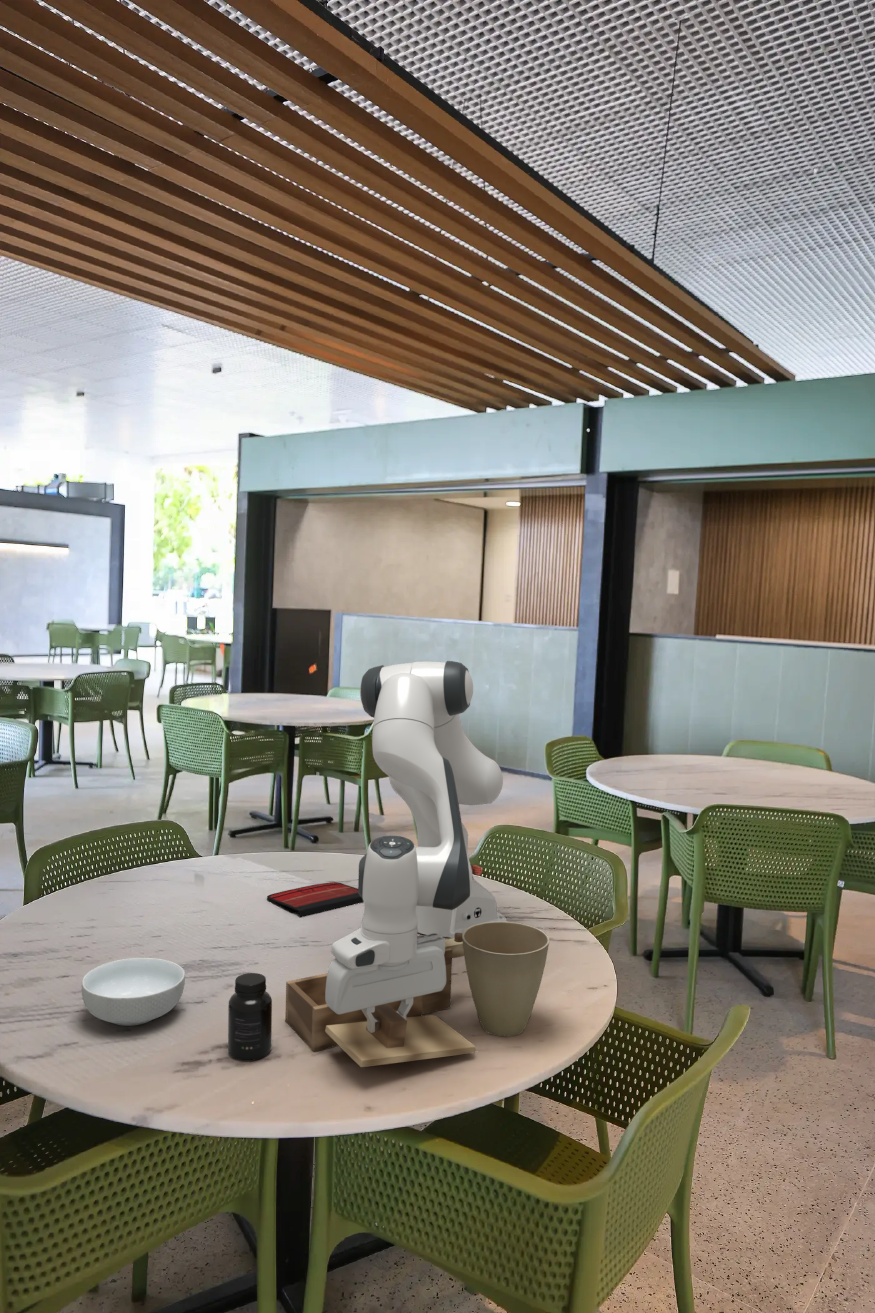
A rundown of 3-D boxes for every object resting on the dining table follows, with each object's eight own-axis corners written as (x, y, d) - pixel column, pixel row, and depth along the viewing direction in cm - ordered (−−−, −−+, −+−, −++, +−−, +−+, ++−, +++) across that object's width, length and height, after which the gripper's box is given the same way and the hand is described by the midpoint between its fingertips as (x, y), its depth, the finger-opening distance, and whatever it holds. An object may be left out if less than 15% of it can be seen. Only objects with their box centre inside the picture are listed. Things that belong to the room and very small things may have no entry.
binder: (374, 892, 223) (299, 910, 209) (374, 902, 223) (299, 920, 209) (335, 878, 235) (263, 894, 221) (335, 887, 235) (263, 903, 221)
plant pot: (476, 1001, 169) (479, 916, 168) (555, 1018, 164) (559, 930, 162) (445, 1036, 156) (448, 943, 154) (530, 1056, 150) (534, 960, 149)
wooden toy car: (459, 949, 171) (460, 930, 171) (468, 955, 169) (469, 935, 169) (417, 958, 167) (418, 938, 166) (426, 964, 164) (427, 944, 164)
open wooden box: (425, 989, 174) (427, 933, 173) (460, 1015, 163) (462, 956, 163) (285, 1021, 159) (286, 960, 158) (314, 1052, 149) (315, 987, 148)
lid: (432, 1027, 159) (437, 991, 159) (473, 1060, 148) (479, 1021, 148) (324, 1039, 148) (329, 1000, 148) (359, 1075, 137) (365, 1034, 137)
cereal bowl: (125, 1049, 148) (126, 1006, 147) (59, 1021, 156) (60, 980, 156) (205, 1010, 162) (205, 971, 161) (140, 986, 171) (141, 949, 170)
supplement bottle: (230, 1041, 151) (232, 969, 150) (273, 1041, 152) (274, 969, 151) (224, 1062, 144) (226, 987, 144) (269, 1062, 145) (270, 987, 144)
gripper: (435, 925, 154) (432, 1006, 155) (322, 946, 143) (319, 1033, 144) (455, 937, 149) (452, 1021, 149) (339, 960, 138) (337, 1050, 139)
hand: (386, 1027), depth 147 cm, fingers closed on lid, 3 cm apart
